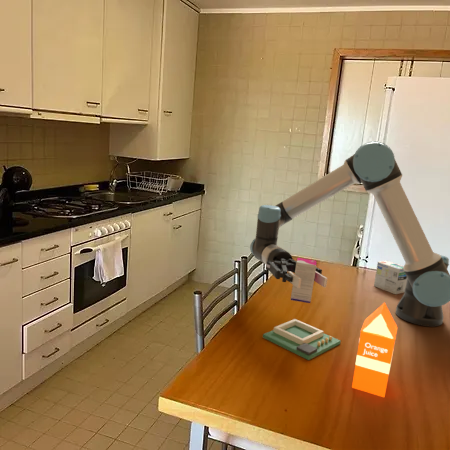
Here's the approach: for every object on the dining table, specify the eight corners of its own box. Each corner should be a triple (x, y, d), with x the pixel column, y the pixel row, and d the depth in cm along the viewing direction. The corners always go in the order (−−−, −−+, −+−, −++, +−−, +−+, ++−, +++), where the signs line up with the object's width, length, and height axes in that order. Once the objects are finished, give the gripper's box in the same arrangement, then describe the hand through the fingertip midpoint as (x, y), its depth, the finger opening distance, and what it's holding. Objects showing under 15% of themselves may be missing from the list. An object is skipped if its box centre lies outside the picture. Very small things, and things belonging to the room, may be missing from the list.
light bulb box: (405, 292, 179) (410, 267, 177) (395, 295, 175) (399, 269, 173) (383, 284, 188) (387, 259, 186) (373, 286, 184) (377, 261, 182)
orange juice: (388, 380, 111) (401, 305, 107) (384, 397, 103) (399, 317, 99) (356, 371, 114) (368, 297, 110) (350, 387, 106) (363, 309, 102)
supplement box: (311, 303, 126) (316, 265, 124) (290, 300, 127) (295, 262, 125) (311, 296, 132) (316, 259, 129) (291, 293, 133) (296, 256, 130)
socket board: (340, 343, 128) (341, 335, 128) (308, 360, 117) (309, 351, 117) (295, 324, 139) (296, 316, 139) (262, 337, 128) (263, 329, 128)
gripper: (303, 269, 149) (342, 294, 128) (247, 270, 142) (278, 297, 121) (306, 247, 147) (345, 269, 126) (249, 248, 140) (281, 271, 119)
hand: (312, 283), depth 124 cm, fingers closed on supplement box, 8 cm apart
